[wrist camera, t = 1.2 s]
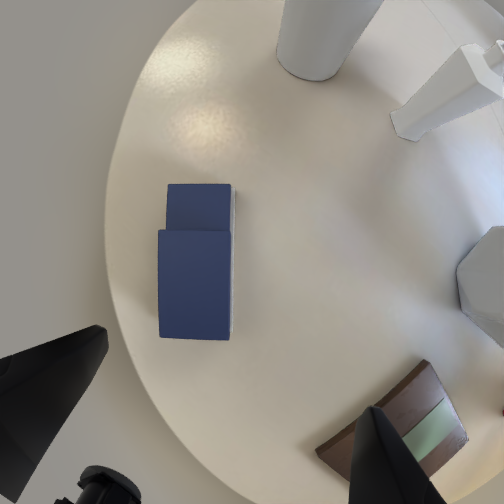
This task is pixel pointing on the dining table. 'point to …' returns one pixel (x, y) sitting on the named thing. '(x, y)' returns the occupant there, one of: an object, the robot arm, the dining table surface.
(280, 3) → the dining table surface
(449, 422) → the brown flat slab
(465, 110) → the perfume bottle
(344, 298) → the dining table surface
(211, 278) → the blue stepped block
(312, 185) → the dining table surface
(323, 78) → the mug
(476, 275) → the vase
